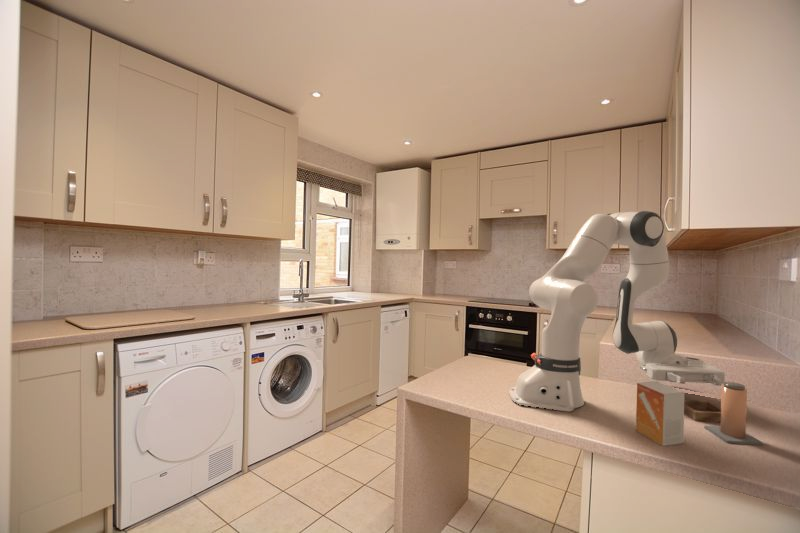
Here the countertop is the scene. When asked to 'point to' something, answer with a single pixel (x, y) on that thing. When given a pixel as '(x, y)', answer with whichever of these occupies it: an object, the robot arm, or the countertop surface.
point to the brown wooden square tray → (709, 415)
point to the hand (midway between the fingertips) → (700, 381)
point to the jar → (733, 410)
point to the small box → (660, 412)
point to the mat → (728, 439)
